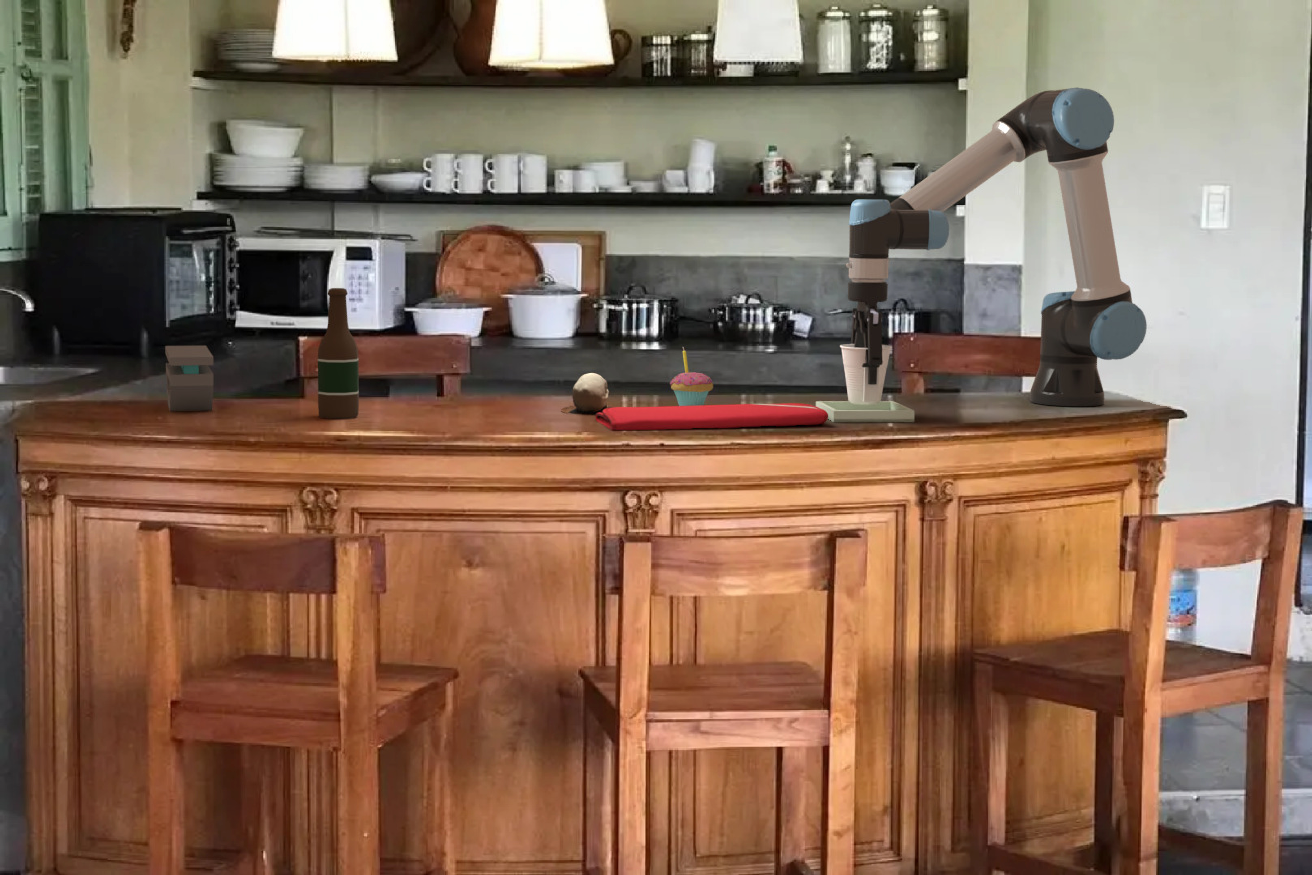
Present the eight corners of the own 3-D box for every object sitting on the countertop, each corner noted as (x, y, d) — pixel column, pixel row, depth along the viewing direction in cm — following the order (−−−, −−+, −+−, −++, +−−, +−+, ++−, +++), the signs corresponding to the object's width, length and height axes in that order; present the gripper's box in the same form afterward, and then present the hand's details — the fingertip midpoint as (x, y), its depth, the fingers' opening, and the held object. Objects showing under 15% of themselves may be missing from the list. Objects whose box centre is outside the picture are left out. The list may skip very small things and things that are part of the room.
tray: (892, 412, 368) (893, 401, 367) (914, 422, 352) (914, 410, 352) (815, 412, 366) (815, 401, 365) (833, 422, 350) (833, 410, 350)
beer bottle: (367, 415, 351) (366, 288, 348) (347, 420, 344) (346, 290, 341) (330, 413, 354) (329, 286, 350) (309, 418, 346) (308, 288, 343)
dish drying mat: (594, 422, 349) (594, 403, 349) (803, 419, 359) (803, 400, 358) (611, 433, 334) (612, 413, 334) (829, 430, 344) (829, 409, 343)
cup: (888, 406, 353) (889, 348, 351) (835, 404, 355) (837, 347, 353) (892, 400, 363) (893, 344, 361) (841, 399, 365) (842, 343, 363)
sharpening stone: (214, 414, 350) (213, 356, 348) (171, 415, 348) (170, 357, 346) (206, 399, 374) (205, 345, 372) (166, 400, 371) (165, 346, 370)
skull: (568, 401, 370) (602, 365, 367) (604, 438, 368) (638, 402, 366) (547, 405, 359) (581, 368, 356) (583, 444, 357) (618, 406, 354)
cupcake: (663, 408, 369) (664, 347, 368) (679, 403, 377) (680, 344, 376) (704, 410, 366) (705, 349, 365) (719, 406, 374) (720, 346, 372)
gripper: (836, 277, 365) (833, 392, 368) (862, 283, 345) (858, 405, 348) (873, 278, 366) (870, 392, 369) (901, 283, 346) (898, 405, 349)
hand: (864, 398), depth 359 cm, fingers closed on cup, 8 cm apart
